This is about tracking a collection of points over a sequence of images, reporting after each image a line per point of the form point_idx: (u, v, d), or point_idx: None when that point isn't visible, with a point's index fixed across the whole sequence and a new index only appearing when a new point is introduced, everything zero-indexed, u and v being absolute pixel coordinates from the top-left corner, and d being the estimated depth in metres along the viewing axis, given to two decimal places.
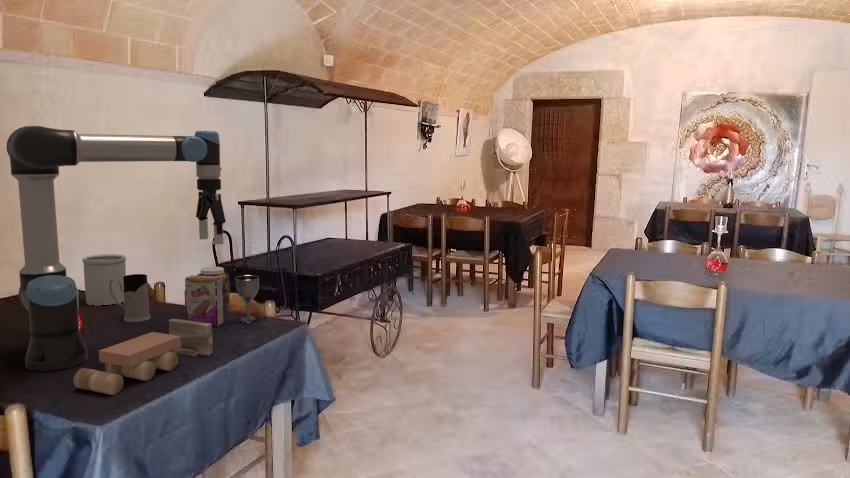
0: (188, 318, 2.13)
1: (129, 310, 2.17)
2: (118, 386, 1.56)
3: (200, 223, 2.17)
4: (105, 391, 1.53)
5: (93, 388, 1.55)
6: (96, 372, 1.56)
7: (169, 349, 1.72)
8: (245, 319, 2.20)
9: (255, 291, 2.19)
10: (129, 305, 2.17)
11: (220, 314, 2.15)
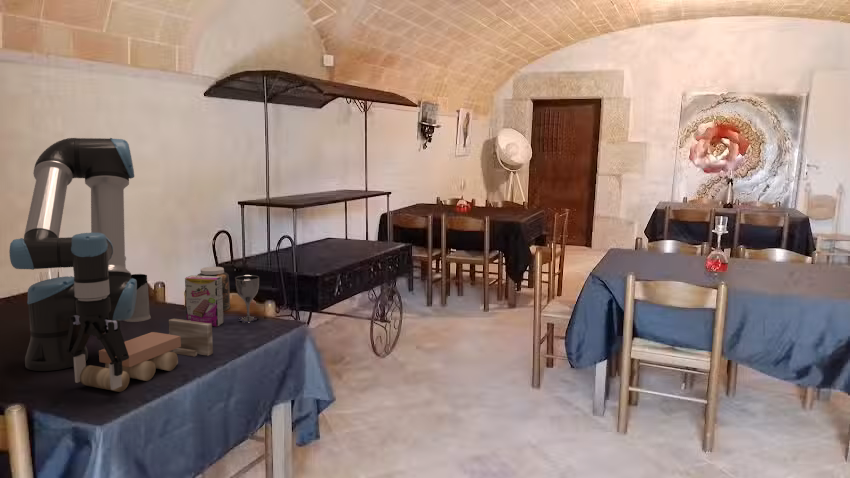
0: (188, 318, 2.13)
1: None
2: (122, 386, 1.57)
3: (76, 361, 1.57)
4: None
5: (99, 378, 1.56)
6: None
7: (169, 349, 1.72)
8: (245, 319, 2.20)
9: (255, 291, 2.19)
10: None
11: (220, 314, 2.15)
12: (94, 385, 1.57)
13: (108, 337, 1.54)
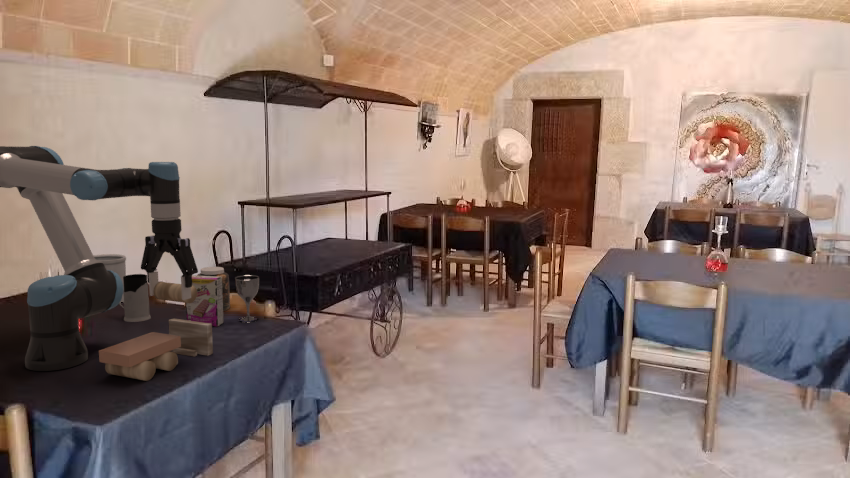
0: (188, 318, 2.13)
1: (129, 310, 2.17)
2: (190, 298, 1.77)
3: (151, 276, 1.78)
4: (181, 292, 1.75)
5: (171, 291, 1.77)
6: None
7: (169, 349, 1.72)
8: (245, 319, 2.20)
9: (255, 291, 2.19)
10: (129, 305, 2.17)
11: (220, 314, 2.15)
12: (166, 298, 1.78)
13: (179, 254, 1.74)
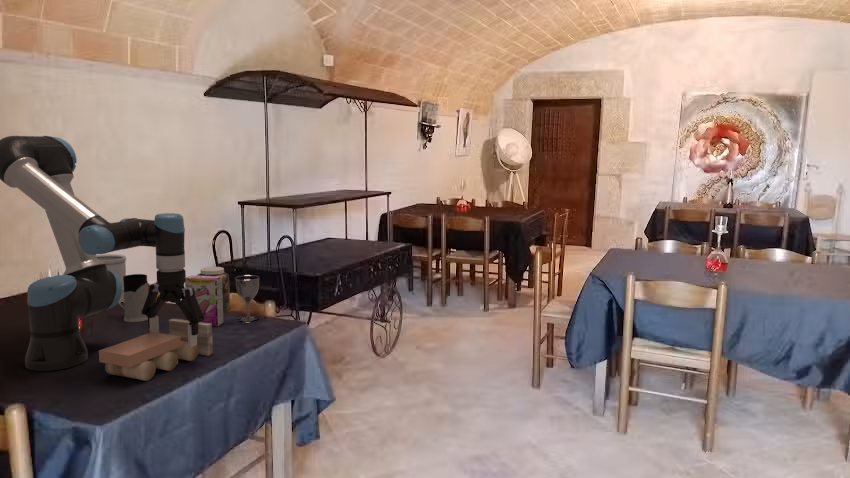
0: None
1: (129, 310, 2.17)
2: (194, 353, 1.81)
3: (152, 321, 1.81)
4: (184, 358, 1.78)
5: None
6: None
7: (169, 349, 1.72)
8: (245, 319, 2.20)
9: (255, 291, 2.19)
10: (129, 305, 2.17)
11: (220, 314, 2.15)
12: None
13: (185, 303, 1.77)
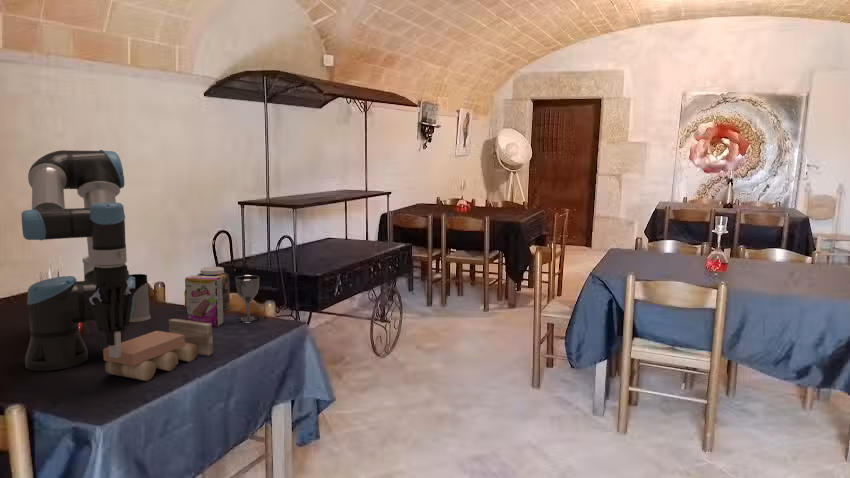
0: (188, 318, 2.13)
1: None
2: (194, 353, 1.80)
3: None
4: (184, 359, 1.78)
5: None
6: None
7: (173, 348, 1.73)
8: (245, 319, 2.20)
9: (255, 291, 2.19)
10: None
11: (220, 314, 2.15)
12: None
13: (106, 308, 1.58)
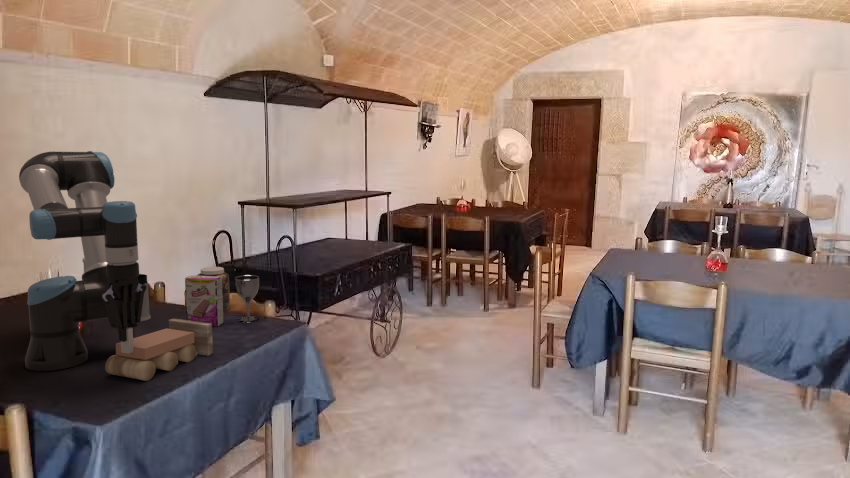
0: (188, 318, 2.13)
1: None
2: (192, 353, 1.80)
3: None
4: (183, 361, 1.78)
5: None
6: None
7: (183, 344, 1.77)
8: (245, 319, 2.20)
9: (255, 291, 2.19)
10: None
11: (220, 314, 2.15)
12: None
13: (119, 305, 1.61)
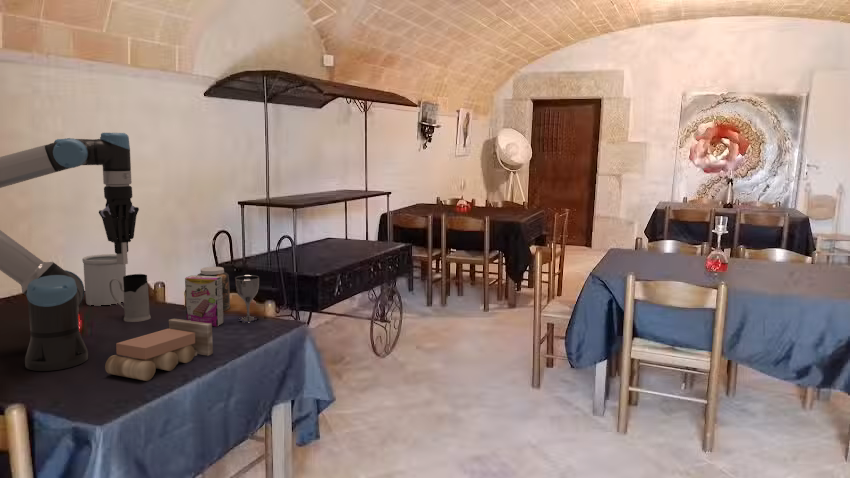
0: (188, 318, 2.13)
1: (129, 310, 2.17)
2: (191, 354, 1.79)
3: None
4: (181, 361, 1.77)
5: None
6: None
7: (184, 345, 1.77)
8: (245, 319, 2.20)
9: (255, 291, 2.19)
10: (129, 305, 2.17)
11: (220, 314, 2.15)
12: None
13: (115, 221, 1.88)
